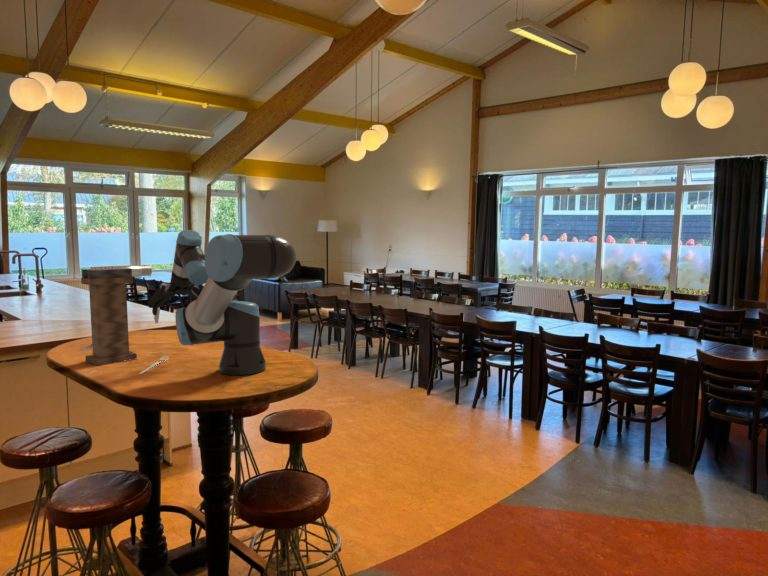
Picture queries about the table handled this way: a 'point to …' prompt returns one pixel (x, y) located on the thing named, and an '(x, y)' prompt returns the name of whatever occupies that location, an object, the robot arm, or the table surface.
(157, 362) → the fork
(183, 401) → the table surface
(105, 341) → the walnut stand
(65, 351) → the table surface
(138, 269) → the chrome rounded rod
